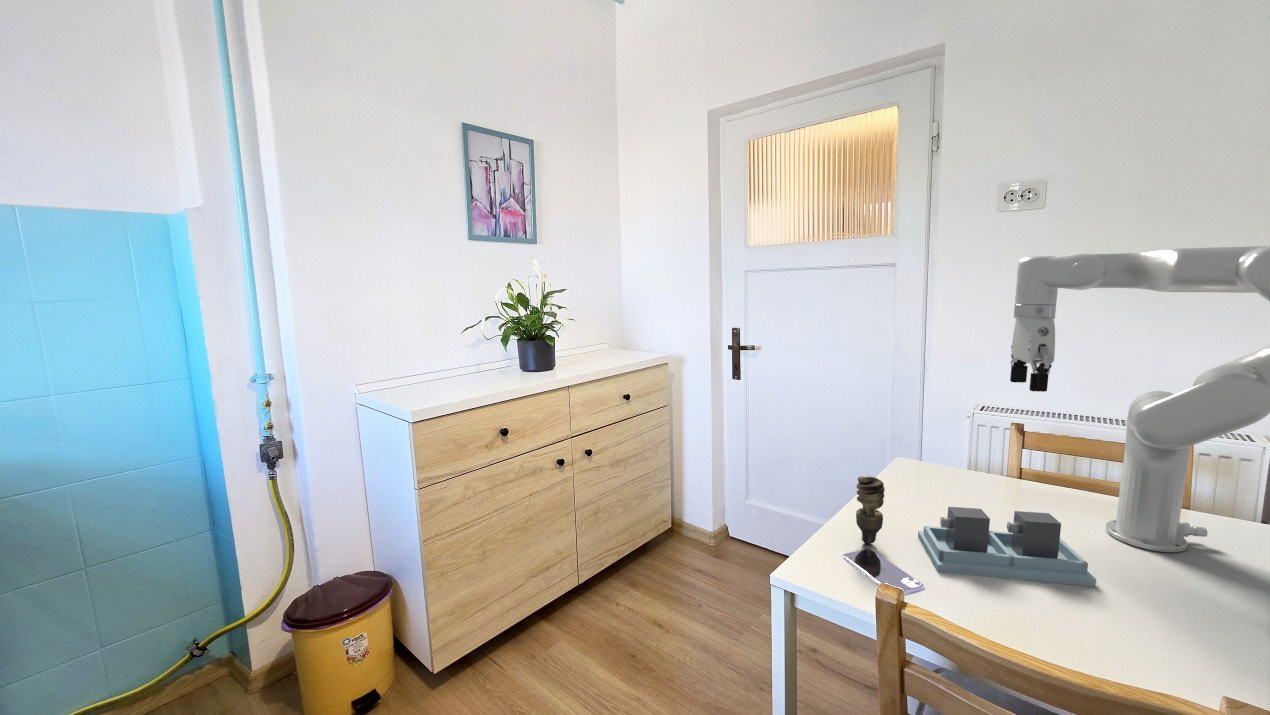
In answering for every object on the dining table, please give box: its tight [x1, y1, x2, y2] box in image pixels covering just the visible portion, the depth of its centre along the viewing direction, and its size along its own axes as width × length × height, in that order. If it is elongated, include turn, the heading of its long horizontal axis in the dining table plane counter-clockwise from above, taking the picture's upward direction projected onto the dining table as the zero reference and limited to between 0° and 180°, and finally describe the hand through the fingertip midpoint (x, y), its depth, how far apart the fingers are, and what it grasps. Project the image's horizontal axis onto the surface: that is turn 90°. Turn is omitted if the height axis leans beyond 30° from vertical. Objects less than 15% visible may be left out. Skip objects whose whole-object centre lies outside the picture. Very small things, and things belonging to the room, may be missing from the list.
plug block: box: [1006, 510, 1062, 559], centre depth 106 cm, size 8×4×8 cm, turn 77°
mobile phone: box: [841, 548, 926, 595], centre depth 105 cm, size 8×1×15 cm
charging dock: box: [917, 525, 1097, 588], centre depth 107 cm, size 26×14×4 cm, turn 77°
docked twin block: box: [939, 506, 991, 553], centre depth 108 cm, size 8×4×8 cm, turn 77°
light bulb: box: [855, 476, 886, 546], centre depth 114 cm, size 6×6×15 cm
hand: (1027, 386), depth 124 cm, fingers open, 9 cm apart
